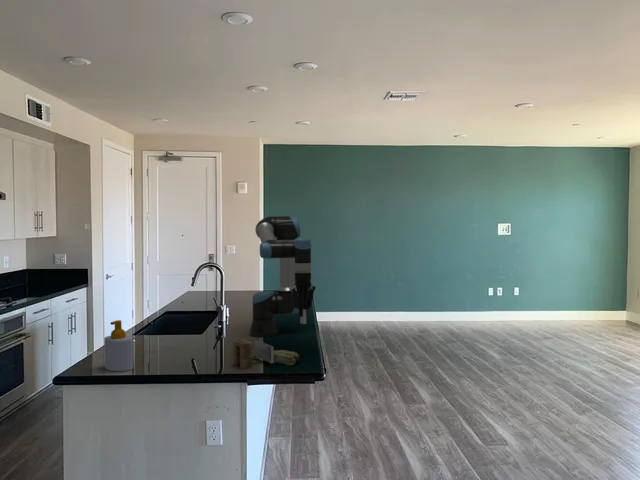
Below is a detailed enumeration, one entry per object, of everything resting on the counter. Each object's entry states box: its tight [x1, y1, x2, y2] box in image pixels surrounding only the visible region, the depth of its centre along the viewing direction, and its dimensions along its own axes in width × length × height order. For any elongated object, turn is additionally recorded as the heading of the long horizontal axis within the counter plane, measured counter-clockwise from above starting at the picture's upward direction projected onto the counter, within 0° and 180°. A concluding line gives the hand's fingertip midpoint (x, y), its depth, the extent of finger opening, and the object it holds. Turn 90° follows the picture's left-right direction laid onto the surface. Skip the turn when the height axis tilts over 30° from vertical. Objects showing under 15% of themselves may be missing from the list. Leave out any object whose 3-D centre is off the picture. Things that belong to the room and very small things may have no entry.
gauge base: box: [233, 338, 258, 370], centre depth 199 cm, size 12×12×10 cm
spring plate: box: [252, 339, 274, 364], centre depth 197 cm, size 10×14×7 cm
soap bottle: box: [103, 319, 134, 372], centre depth 192 cm, size 13×8×20 cm, turn 69°
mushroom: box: [270, 349, 300, 367], centre depth 200 cm, size 14×10×5 cm, turn 69°
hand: (303, 323), depth 209 cm, fingers closed
